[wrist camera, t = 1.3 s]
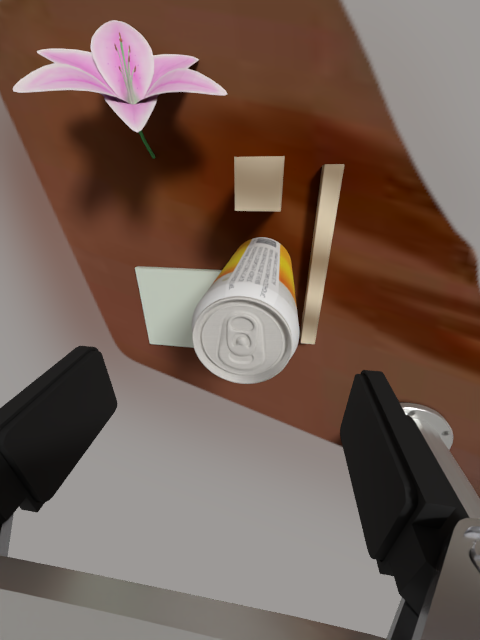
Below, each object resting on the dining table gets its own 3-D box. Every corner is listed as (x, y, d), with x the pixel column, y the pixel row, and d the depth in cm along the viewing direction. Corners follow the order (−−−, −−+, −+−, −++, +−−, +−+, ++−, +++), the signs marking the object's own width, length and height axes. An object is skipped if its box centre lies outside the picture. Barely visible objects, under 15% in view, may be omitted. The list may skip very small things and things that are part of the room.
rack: (313, 337, 29) (322, 384, 22) (246, 332, 30) (236, 375, 23) (340, 165, 21) (369, 155, 14) (249, 166, 22) (234, 157, 15)
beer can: (232, 291, 28) (188, 382, 15) (233, 234, 25) (180, 285, 12) (287, 295, 27) (292, 395, 14) (294, 237, 24) (309, 295, 11)
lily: (252, 139, 22) (244, -4, 13) (159, 234, 23) (83, 164, 13) (162, 55, 23) (93, -135, 14) (75, 147, 24) (-51, 25, 14)
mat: (226, 347, 32) (226, 350, 31) (152, 341, 33) (149, 343, 32) (224, 270, 27) (223, 271, 26) (137, 266, 28) (134, 267, 28)
